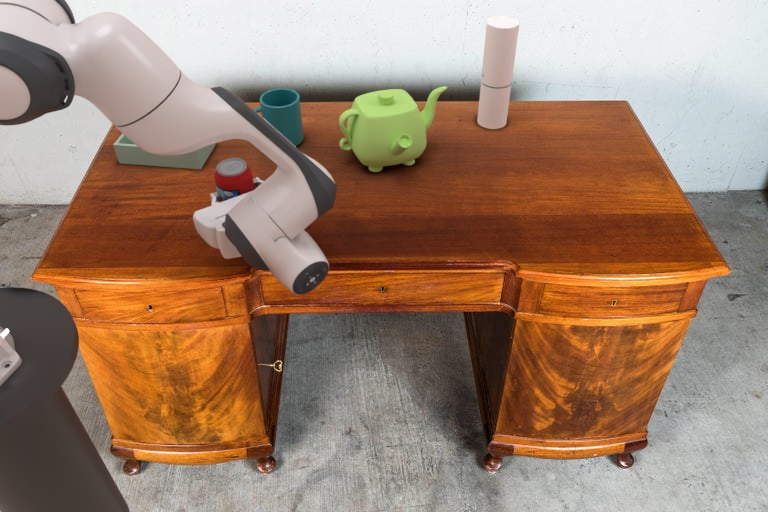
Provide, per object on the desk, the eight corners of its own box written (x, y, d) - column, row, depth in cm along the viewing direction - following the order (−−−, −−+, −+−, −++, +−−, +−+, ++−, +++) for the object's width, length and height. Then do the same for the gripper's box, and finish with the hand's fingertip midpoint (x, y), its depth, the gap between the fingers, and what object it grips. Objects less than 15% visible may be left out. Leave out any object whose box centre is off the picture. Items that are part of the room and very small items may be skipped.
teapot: (358, 198, 139) (355, 133, 128) (331, 146, 154) (327, 84, 143) (467, 175, 144) (473, 111, 134) (430, 127, 160) (433, 66, 149)
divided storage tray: (200, 169, 147) (196, 150, 144) (119, 163, 149) (112, 144, 146) (215, 145, 155) (211, 126, 151) (137, 139, 157) (132, 121, 153)
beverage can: (216, 218, 126) (205, 165, 118) (246, 203, 129) (237, 151, 121) (236, 234, 122) (225, 181, 114) (266, 219, 125) (257, 166, 117)
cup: (255, 131, 159) (248, 88, 152) (305, 129, 159) (300, 87, 152) (251, 151, 152) (244, 108, 145) (303, 150, 153) (298, 106, 145)
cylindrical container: (501, 112, 164) (513, 14, 148) (510, 127, 159) (523, 27, 143) (473, 115, 164) (482, 16, 147) (481, 130, 158) (492, 29, 142)
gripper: (318, 192, 115) (282, 156, 124) (209, 234, 107) (178, 192, 115) (321, 220, 120) (285, 183, 128) (216, 262, 111) (185, 220, 120)
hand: (234, 188), depth 122 cm, fingers closed on beverage can, 7 cm apart
